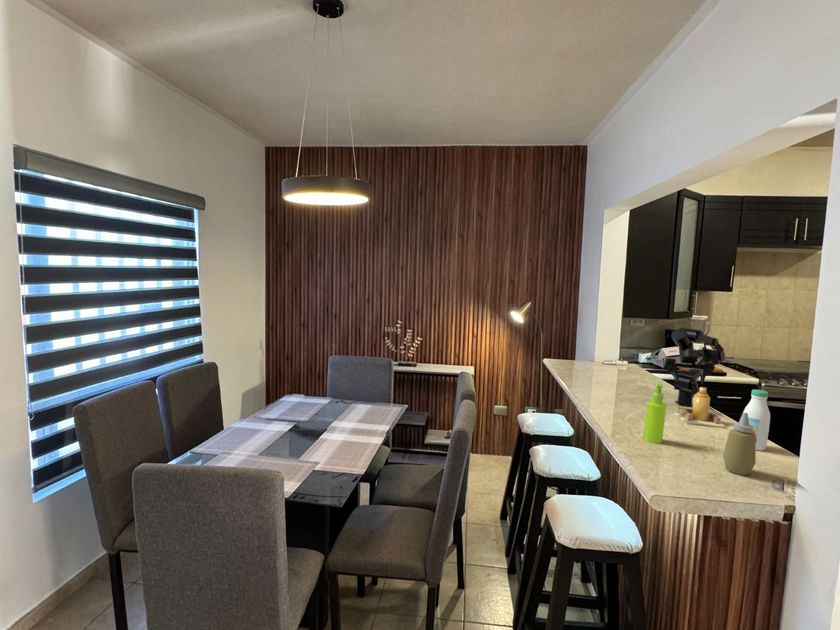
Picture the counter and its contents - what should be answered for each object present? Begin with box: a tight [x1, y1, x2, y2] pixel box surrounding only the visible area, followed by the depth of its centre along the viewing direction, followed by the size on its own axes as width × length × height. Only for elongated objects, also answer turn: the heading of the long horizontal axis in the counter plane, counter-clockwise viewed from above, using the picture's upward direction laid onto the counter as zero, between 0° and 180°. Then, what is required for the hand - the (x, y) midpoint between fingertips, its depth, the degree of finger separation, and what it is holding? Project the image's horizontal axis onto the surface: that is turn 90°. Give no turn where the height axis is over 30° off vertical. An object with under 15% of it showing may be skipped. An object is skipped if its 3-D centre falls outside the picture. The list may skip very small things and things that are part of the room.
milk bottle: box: [743, 388, 771, 452], centre depth 159 cm, size 8×8×20 cm
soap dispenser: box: [642, 382, 667, 444], centre depth 160 cm, size 6×7×20 cm
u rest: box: [674, 407, 727, 429], centre depth 186 cm, size 14×14×3 cm
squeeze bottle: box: [722, 412, 757, 476], centre depth 137 cm, size 8×8×18 cm
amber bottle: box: [691, 386, 711, 421], centre depth 186 cm, size 6×6×13 cm
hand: (690, 382), depth 193 cm, fingers open, 9 cm apart
